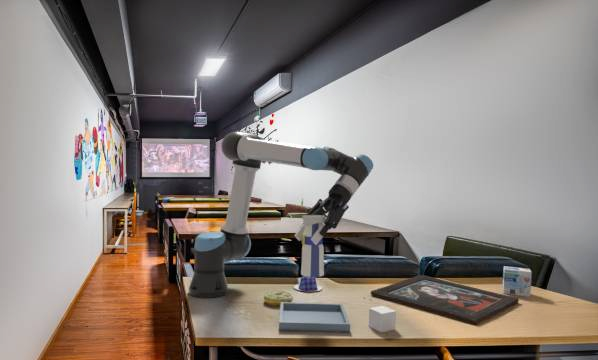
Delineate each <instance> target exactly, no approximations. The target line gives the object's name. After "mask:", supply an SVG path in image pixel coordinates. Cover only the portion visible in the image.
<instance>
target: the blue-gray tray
mask: <svg viewBox="0 0 598 360" xmlns="http://www.w3.org/2000/svg"><path fill="white" fill-rule="evenodd" d="M278 331H281V332H312V333H315V332H316V333H317V332H319V333H346V334H347V333H348V334H349V333H351V322H350V319H349V318H348V314H347V312H346V310H345V307H344V304H343V303H324V302H321V303H318V302H292V301H291V302H281V305H280V306H279V320H278Z"/></svg>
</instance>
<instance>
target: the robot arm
mask: <svg viewBox="0 0 598 360" xmlns="http://www.w3.org/2000/svg"><path fill="white" fill-rule="evenodd" d="M221 152H222V153H223V155H224V157H226V158H227V159H228V160H230V161H232V165H233V167H234V173H233V174H234V175H233V178H232V185H231V190H230V196H229V202H228V206H227V213H226V220H225V223H224V224H223V225H221V226H220V231H206V232H202V233H200V234H198V235H197V236H196V237H195V241H194V245H193V246H194V247H193V248H194V254H193V255H194V260H193V261H194V262H193V263H194V264H193V268H194V269H193V275H192V278H191V280H190V284H189V286H188V294H189V295H190V296H193V297H195V298H204V299H206V298H207V299H208V298H210V299H211V298H218V297H219V298H220V297H223V296H225V295H227V294H228V293H229V286H228V282H227V278H226V275H225V263H229V262H233V261H238V260H240V259H243V258H244V257H246V256H247V255H248V254H249V252H250V250H251V249H252V248H251V246H252V241H251V239H250V235H249V230H248V228H247V221H248V215H249V210H250V205H251V200H252V194H253V189H254V184H255V183H254V182H255V178H256V173H257V172H259V170H260V169H261V165H262V162H265V163H266V162H267V163H273V164H279V165H285V166H291V167H292V166H293V167H297V168H304V169H309V170H312V171H327V172H328V171H331V172H334V173H337V174H338V175H340V176H339V178H338V179H337V180H336V181H335V183H334V184H333V186H331V188H330V189H329V190H328V196H327V198H324V200H322V199H321V198H319V199H317V201H316V203H315V204H314V205H313V206H312V207H311V209H309V210H308V211H307V212H306V214H305V215H322V216H324V215H327V216H326V217H325V218H326V221H325V222H323V224H322V225H321V226H320V227H319V229H318V230H317V231H316V233H315V234H314V235H313V237H312V238H311V240H312V242H313V243H314V244H315V245H317V244H318V242H319V241H320V240H321V238H322V239H323V237H324V236H325V235H326V234H327V233H328V231H329V230H331V229H333V230H336V228H337V227H338V226H339V223H340V222H341V220H342V218H343V216H344V215H345V213H346V211H347V210H348V209H349V205H348V203H349V202H350V201H351V199H352V197H353V196H354V194H356V192H357V191H358V189H359V188H360V187H361V186H362V184H363V183H364V181H365V180H366V179H367V178H368V177H369V175H370V173H371V172H372V170H373V169H374V163H373V160H372V159H371V158H370V157H369V156H367V155H366V154H364V153H363V154H361V153H359V154H357V155H356V156H354V157H353V156H350V155H347V154H346V153H344V152H341V151H339V150H337V149H335V148H332V147H330V146H324V147H317V146H308V145H307V146H306V145H300V144H294V143H293V144H292V143H285V142H280V141H279V142H278V141H270V140H266V139H264V137H263V136H261V135H257V134H255V133H247V132H241V131H233V132H229V133H227V134H226V135H225V136H224V138H223V139H222V142H221ZM301 220H303V218H302V219H301ZM303 224H304V222H303V223H302V224H301V226H300V227H299V228H298V230H297V231H296V233H295V234H294V237H295V239H297V241H299V242H300V241H302V235H303V232H304V230H305V225H303Z"/></svg>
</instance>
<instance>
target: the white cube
mask: <svg viewBox="0 0 598 360" xmlns="http://www.w3.org/2000/svg"><path fill="white" fill-rule="evenodd" d="M396 320H397V311H396V310H395V309H392V308H389V307H388V306H385V305H379V306H373V307H369V310H368V327H370V328H371V329H374V330H375V331H377V332H380V333H384V332H390V331H391V332H392V331H393V330H396V323H397V322H396Z"/></svg>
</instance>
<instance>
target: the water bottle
mask: <svg viewBox="0 0 598 360" xmlns="http://www.w3.org/2000/svg"><path fill="white" fill-rule="evenodd" d="M300 203H301V204H300V207H301V209H303V206H304V205H303V204H304V199H303V198H302V199H301V202H300ZM302 218H303V219H302V221H303V223H304V224H303V223H302V224H303V225H305V230H304V232H303V235H302V239H301V244H302V248H301V268H300V275H301V276H308V277H315V278H317V277H323V276H324V275H325V266H324V264H325V261H324V257H325V256H324V255H325V254H324V252H325V251H324V244H323V237H322V238H321V240H320V241H319V242H318V244H317V245H315V244H314V243H313V242H312V240H311V238H312V237H313V235H314V234H315V233H316V231H317V230H318V229H319V227H320V226H321V225H322V224H324V223H323V222H325V221H326V218H327V217H326V216H325V215H306V214H303V215H302Z"/></svg>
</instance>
